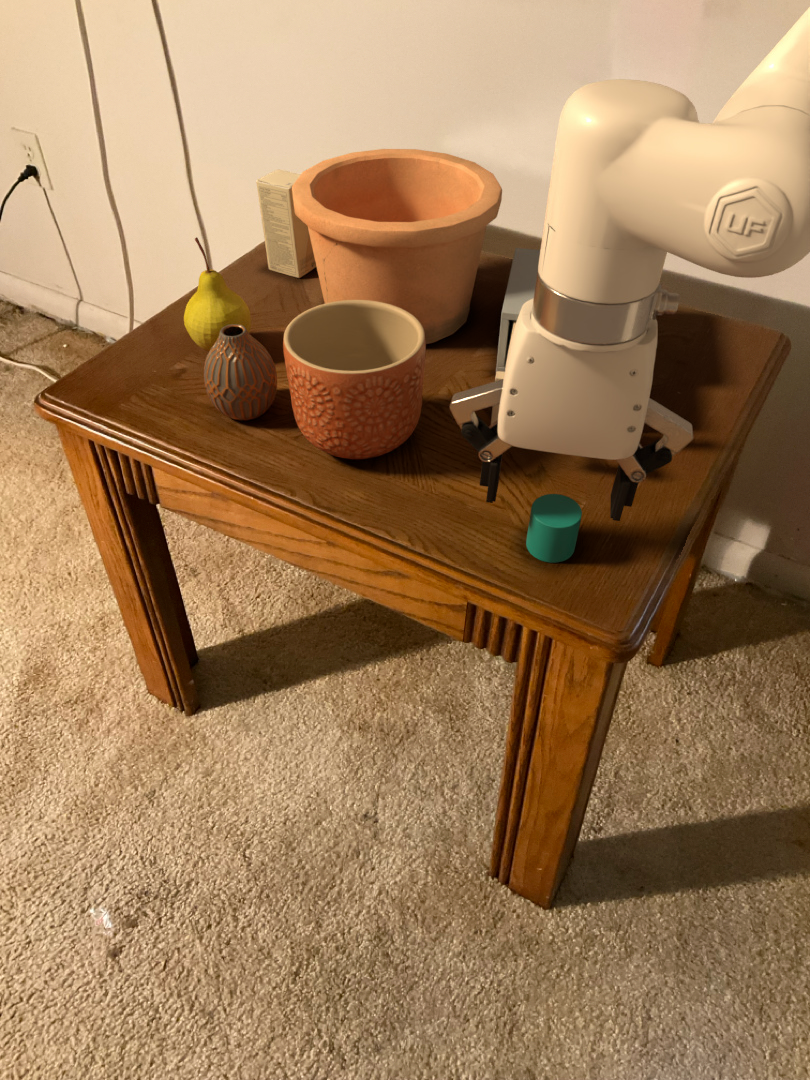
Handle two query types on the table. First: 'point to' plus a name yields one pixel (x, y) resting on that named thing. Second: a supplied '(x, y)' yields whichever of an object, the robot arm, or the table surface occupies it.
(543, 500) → the cylinder
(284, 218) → the box
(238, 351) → the vase
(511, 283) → the grey cabinet
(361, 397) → the planter
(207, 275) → the fruit
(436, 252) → the pottery
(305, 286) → the table surface
